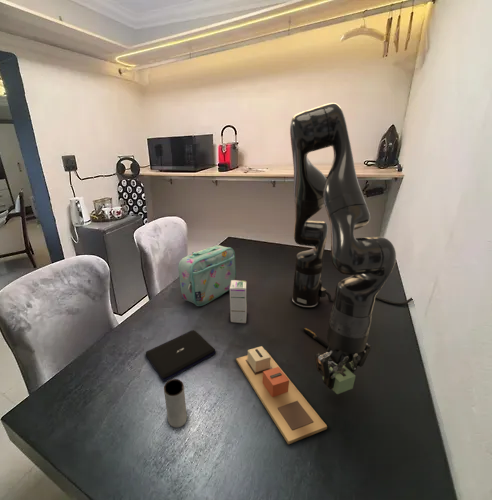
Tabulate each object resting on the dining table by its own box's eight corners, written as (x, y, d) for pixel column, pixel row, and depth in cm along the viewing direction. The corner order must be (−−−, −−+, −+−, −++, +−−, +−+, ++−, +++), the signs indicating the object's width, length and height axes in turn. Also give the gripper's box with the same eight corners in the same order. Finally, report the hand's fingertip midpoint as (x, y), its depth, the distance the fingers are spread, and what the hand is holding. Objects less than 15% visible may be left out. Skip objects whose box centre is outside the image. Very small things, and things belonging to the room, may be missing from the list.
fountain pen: (342, 357, 77) (343, 353, 77) (339, 358, 77) (340, 354, 76) (304, 329, 89) (304, 325, 89) (301, 330, 89) (301, 326, 88)
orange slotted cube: (277, 377, 71) (278, 366, 69) (288, 391, 67) (289, 379, 65) (262, 382, 70) (263, 370, 68) (272, 397, 65) (273, 384, 64)
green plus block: (337, 373, 66) (339, 360, 64) (352, 388, 62) (355, 375, 60) (322, 379, 65) (324, 366, 63) (337, 394, 61) (339, 381, 59)
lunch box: (194, 313, 102) (191, 263, 94) (178, 303, 109) (173, 256, 101) (238, 287, 118) (238, 243, 110) (221, 280, 125) (220, 238, 117)
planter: (167, 410, 65) (163, 379, 61) (186, 408, 65) (183, 377, 61) (168, 429, 61) (163, 397, 57) (187, 426, 61) (184, 394, 57)
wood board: (265, 352, 81) (265, 349, 80) (326, 429, 58) (327, 425, 58) (235, 360, 78) (235, 357, 78) (288, 444, 56) (288, 441, 56)
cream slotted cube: (261, 356, 78) (261, 345, 76) (269, 368, 74) (270, 356, 72) (247, 360, 77) (247, 349, 75) (255, 372, 72) (255, 360, 71)
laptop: (143, 348, 86) (142, 343, 85) (198, 330, 93) (198, 325, 92) (157, 385, 72) (156, 380, 71) (220, 360, 79) (220, 355, 78)
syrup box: (246, 323, 94) (247, 288, 89) (229, 322, 95) (229, 287, 90) (246, 314, 99) (247, 280, 94) (230, 313, 101) (230, 279, 95)
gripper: (335, 345, 52) (324, 405, 58) (390, 327, 55) (374, 386, 62) (309, 322, 58) (301, 379, 65) (359, 308, 62) (348, 363, 68)
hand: (337, 382), depth 63 cm, fingers closed on green plus block, 4 cm apart
